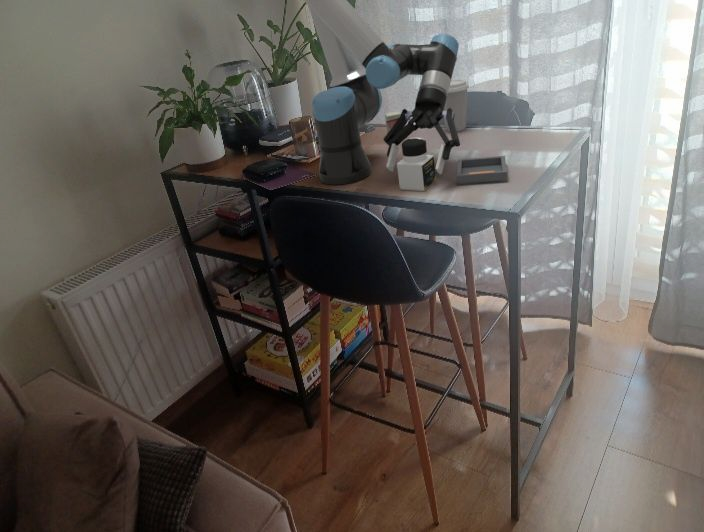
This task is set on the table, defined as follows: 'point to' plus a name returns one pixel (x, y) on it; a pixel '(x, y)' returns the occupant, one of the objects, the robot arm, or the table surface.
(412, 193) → the table surface
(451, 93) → the coffee cup
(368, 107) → the robot arm
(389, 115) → the small box
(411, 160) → the medicine bottle
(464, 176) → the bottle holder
